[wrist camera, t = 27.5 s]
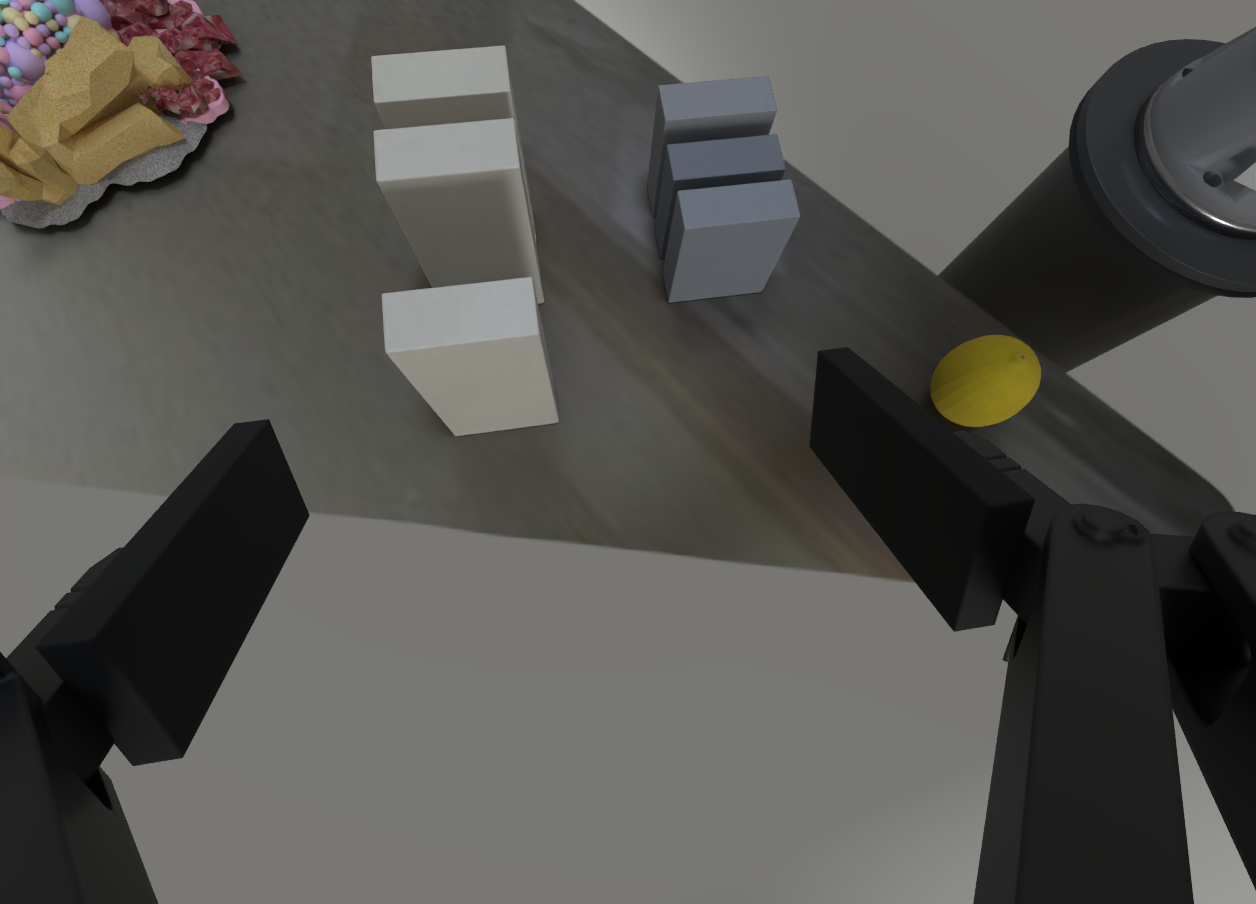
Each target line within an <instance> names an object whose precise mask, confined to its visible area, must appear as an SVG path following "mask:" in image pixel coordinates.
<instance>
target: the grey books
mask: <svg viewBox="0 0 1256 904" xmlns="http://www.w3.org/2000/svg"><path fill="white" fill-rule="evenodd" d="M776 112H777V107H776V103H775V99H774V95H773V91H772V86H771V82H770V78H769V76H763V77H751V78H740V79H729V80H717V81H705V82H694V83H682V84H671V85H659V86H658V94H657V103H656V112H655V121H654V130H653V139H652V148H651V157H650V166H649V175H648V184H647V190H648V195H649V201H650V206H651V212H652V216H656V223H655V233H656V239H657V244H658V250H659V255H660V259H663V258H665V261H664V267H663V277H664V283H665V288H666V294H667V299H668V303H672V302H680V301H689V300H698V299H706V298H715V297H724V296H732V295H741V294H750V293H758V292H762V291H763V289H764V287H765V285H766V283H767V281H768V279H769V277H770V275H771V273H772V271H773V269H774V267H775V265H776V263H777V261H778V259H779V257H780V255H781V253H782V251H783V250H784V248H785V246H786V244H787V242H788V240H789V238H790V236H791V234H792V232H793V230H794V228H795V226H796V224H797V222H798V220H799V218H800V213H799V209H798V205H797V200H796V196H795V192H794V188H793V184H792V180H781V179H782V177H783V174H784V172H785V170H786V168H785V164H784V160H783V156H782V152H781V149H780V144H779V140H778V136H777V134H774V135H769V132H770V129H771V127H772V124H773V121H774V118H775V115H776Z"/></svg>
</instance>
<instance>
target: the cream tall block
mask: <svg viewBox="0 0 1256 904" xmlns="http://www.w3.org/2000/svg"><path fill="white" fill-rule="evenodd" d="M382 309H383V325H384V342H385V352H386V354H387V355H388V356H389V357H390V359H391V360H392V361H393V362H394V363H395V365H396V366H397V367H398V368H399V369H400V370H401V372H402V373H403V374H404V375H405V376H406V378H407V379H408V380H409V381H410V382H411V384H412V385H413V386H414V387H415V388H416V390H417V391H418V392H419V393H420V394H421V396H422V397H423V398H424V399H425V400H426V402H427V403H428V404H429V405H430V406H431V408H432V409H433V410H434V411H435V412H436V414H437V415H438V416H439V417H440V418H441V420H442V421H443V422H444V423H445V424H446V426H447V427H448V428H449V429H450V430H451V432H452V433H453V434H454V435H455V436H462V435H470V434H478V433H485V432H493V431H500V430H508V429H515V428H523V427H531V426H538V425H546V424H553V423H559V418H558V410H557V403H556V395H555V387H554V381H553V376H552V371H551V366H550V361H549V356H548V351H547V346H546V341H545V336H544V331H543V327H542V322H541V317H540V312H539V307H538V302H537V297H536V292H535V287H534V282H533V278H532V277H526V278H517V279H508V280H499V281H490V282H481V283H472V284H463V285H454V286H446V287H437V288H428V289H419V290H410V291H401V292H392V293H383V294H382Z"/></svg>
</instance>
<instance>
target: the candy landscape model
mask: <svg viewBox="0 0 1256 904" xmlns="http://www.w3.org/2000/svg"><path fill="white" fill-rule="evenodd" d="M221 44H237V42H236V41H235V39H234V37H233V36H232V34H231V33H230V31H229V30H228V28H227V26H226V25H225V23H224V22H223V20H222V18H221V17H220V15H216V16H205V15H203V13H202V11H201V10H200V8H199V7H198V5H197V4H196V2H194V1H191V0H0V210H1V213H2V214H3V215H4V216H5V217H6V219H7V220H8V221H10V222H14V223H18V224H22V225H26V226H30V227H34V228H44V227H46V226H48V225H52V224H55V225H64V224H66V223H68V222H70V221H73V220H76V219H78V218H79V217H80V216H81V214H82V213H83V211H84V209H85V208H86V206H87V205H88V204H89V203H91V202H93V201H97V200H98V199H99V198H100V197H101V196H102V195H103V193H104V191H105V189H106V188H107V186H108V185H109V184H112V183H116V184H121V185H127V186H128V185H133V184H135V183H137V182H140V181H144V182H151V181H153V180H155V179H157V178H159V177H162V176H164V175H166V174H168V173H170V172H172V171H175V170H176V169H177V168H178V167H179V166H180V164H181V162H182V160H183V158H184V157H185V155H186V154H188V153H190V152H192V151H194V150H195V149H196V148H197V146H198V144H199V142H200V140H201V138H202V136H203V135H204V134H205V132H206V130H207V126H206V124H209V123H212V122H213V121H215V119H216V118H217V117H218V116H219V115H221V114H224V113H226V112H227V111H228V109H230V107H229V106H230V104H229V99H228V94H227V93H225V92H224V90H223V88H222V87H221V86H220V84H219V83H218V82H217V81H216V80H220V79H225V78H231V77H236V76H242V75H243V74H242V73H241V72H240V71H239V70H238V69H237V68H236V67H235V66H234V65H233V64H232V63H231V62H230V61H229V60H228V59H227V58H226V57H225V55H224V54H222V53H221V52H220V51H219V48H220V47H221V46H222V45H221Z"/></svg>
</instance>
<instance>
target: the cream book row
mask: <svg viewBox="0 0 1256 904" xmlns="http://www.w3.org/2000/svg"><path fill="white" fill-rule="evenodd" d="M371 61H372V78H373V95H374V104H375V106H376V109H377V111H378V113H379V115H380V117H381V120H382V122H383V124H384V126H385V130H375V131H374V150H375V167H376V181H377V183H378V185H379V187H380V189H381V191H382V193H383V195H384V197H385V198H386V200H387V202H388V204H389V206H390V208H391V210H392V212H393V214H394V216H395V218H396V220H397V221H398V223H399V225H400V227H401V229H402V231H403V233H404V235H405V237H406V239H407V241H408V243H409V245H410V246H411V248H412V250H413V252H414V254H415V256H416V258H417V260H418V262H419V264H420V266H421V268H422V269H423V271H424V273H425V275H426V277H427V279H428V281H429V283H430V285H431V287H432V288H437V287H446V286H454V285H463V284H472V283H481V282H490V281H499V280H508V279H517V278H526V277H532V278H533V282H534V287H535V292H536V297H537V302H538V304H541V303H544V295H543V287H542V279H541V271H540V264H539V259H538V253H537V247H536V241H537V240H536V232H535V224H534V217H533V209H532V202H531V196H530V190H529V185H528V179H527V173H526V167H525V161H524V155H523V149H522V143H521V137H520V131H519V125H518V119H517V113H516V107H515V101H514V95H513V89H512V83H511V77H510V71H509V65H508V59H507V53H506V47H505V46H493V47H481V48H468V49H456V50H443V51H431V52H418V53H406V54H393V55H381V56H372V57H371Z"/></svg>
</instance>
